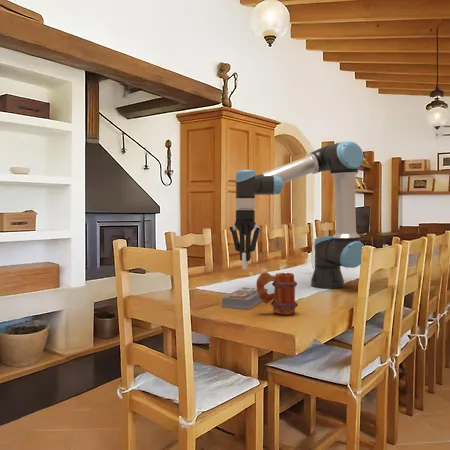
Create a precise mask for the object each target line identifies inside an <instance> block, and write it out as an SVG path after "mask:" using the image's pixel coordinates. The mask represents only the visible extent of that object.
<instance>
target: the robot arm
mask: <svg viewBox="0 0 450 450" xmlns="http://www.w3.org/2000/svg"><path fill="white" fill-rule="evenodd" d="M363 163H364V152H363V149H362V148H361V146H359V144H357V143H356V142H354V141H349V140H348V141H341V142H337V143H330V144H327V145H324V146H321V147H320V148H318V149H315V150H313V151H312V152H308V153H307V154H306V155H305V157H302V158H299V159H297V160H294V161H291V162H289V163H286V164H284V165H281V166H278V167H275V168H273V169H270V170H267V171H265V172H262V173H260V174H257V175H256V171H255V170H253V169H239V170H237V171H236V173H235V174H236V175H235V181H234V182H235V209H236V210H235V221H234V224H233V225H231V226H229V231H230V232H231V236H232V240H233V244H234V249H235V251H236V252H239V260H240V261H241V270H249V262H250V261H251V253H252V252H255V250H256V247H257V242H258V238H259V234H260V232H261V230H262V227H260V226H258V225H257V223H256V221H255V220H256V218H255V217H256V211H255V210H254V209H256V208H255V207H256V198H255V197H256V196H259V195H260V196H261V195H263V196H264V195H265V196H267V195H269V196H270V195H273V196H274V195H275V196H276V195H279V194H280V195H281V193H282V191H283V188H284V184H286V183H288V182H289V183H290V182H291V181H294V180H296V179H299V178H301V177H304V176H307V175H309V174H313V175H314V174H315V175H317V174H318V173H320V172H321V173H322V172H329V171H330V172H329V173H330V175H331V176H332V177H333V180H334V181H333V184H334V215H335V219H334V220H335V232H334V234H333V235H329V236H327V235H326V236H317V237H316V238H315V239H314V271H313V274H312V277H311V279H310V286H312V287H313V288H319V289H340V288H344V287H345V279H344V277H343V274H342V270H341V267H344V268H346V269H347V268H350V269H353V268H354V269H355V268H357V267H359V266H360V265H362V263H361V253H362V252H361V250H362V247H363V246H365V245H364V243H362V242H361V235H359V234H358V232H357V222H356V221H357V218H356V216H357V215H356V214H357V213H356V182H355V178H356V176H357V175H358V174H359V167H361V165H362V164H363ZM253 230H254V232H253ZM252 232H253V236H252ZM251 237H252V239H251Z"/></svg>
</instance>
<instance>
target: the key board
mask: <svg viewBox="0 0 450 450" xmlns="http://www.w3.org/2000/svg"><path fill="white" fill-rule="evenodd" d="M247 287H248V286H246V287H244V286H243V287H242V288H247ZM265 292H266V293H267V294H268V288H265ZM235 293H238V289H237V290H235V291H233V292H231V293H229V294H227V295H225V296H222V298H221V300H222V303H221V308H227V309H228V308H229V309H230V308H231V309H239V310H250V309H252V308H254V307H255V306H257V305H258V304H260V303H262V302H264V301H263V300H262V299H261V298H260V296H259V295H258V292H254V294H252V295H248V297H247V298H245V299H241V298H231V295H233V294H235Z"/></svg>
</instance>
